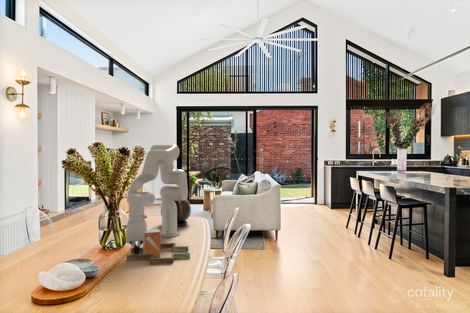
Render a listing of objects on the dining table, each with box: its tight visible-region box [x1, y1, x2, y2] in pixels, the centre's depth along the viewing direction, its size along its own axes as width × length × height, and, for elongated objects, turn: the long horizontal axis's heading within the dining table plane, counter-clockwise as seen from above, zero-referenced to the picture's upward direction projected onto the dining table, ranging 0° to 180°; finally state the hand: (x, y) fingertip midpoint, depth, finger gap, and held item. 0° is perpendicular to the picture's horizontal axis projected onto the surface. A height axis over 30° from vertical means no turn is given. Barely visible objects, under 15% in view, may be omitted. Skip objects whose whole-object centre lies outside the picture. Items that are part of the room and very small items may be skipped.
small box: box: [142, 228, 161, 258], centre depth 172 cm, size 8×6×13 cm
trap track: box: [125, 242, 191, 265], centre depth 173 cm, size 26×31×2 cm
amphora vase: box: [160, 184, 192, 228], centre depth 243 cm, size 22×22×28 cm
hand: (136, 254), depth 171 cm, fingers closed
